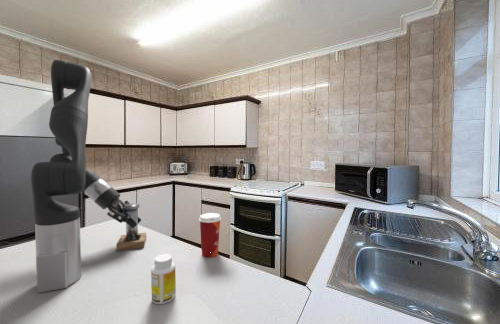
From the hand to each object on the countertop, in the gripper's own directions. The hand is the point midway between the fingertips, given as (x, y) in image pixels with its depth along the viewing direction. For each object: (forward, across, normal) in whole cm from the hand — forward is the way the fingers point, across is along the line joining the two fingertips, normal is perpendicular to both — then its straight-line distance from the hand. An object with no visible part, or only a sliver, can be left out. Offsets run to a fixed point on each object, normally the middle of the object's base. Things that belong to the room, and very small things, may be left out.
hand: (137, 224), depth 84 cm
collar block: (+4, 0, +7) cm, 8 cm away
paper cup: (+25, -13, -14) cm, 32 cm away
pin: (+3, 0, +5) cm, 6 cm away
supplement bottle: (+18, -34, -7) cm, 39 cm away
